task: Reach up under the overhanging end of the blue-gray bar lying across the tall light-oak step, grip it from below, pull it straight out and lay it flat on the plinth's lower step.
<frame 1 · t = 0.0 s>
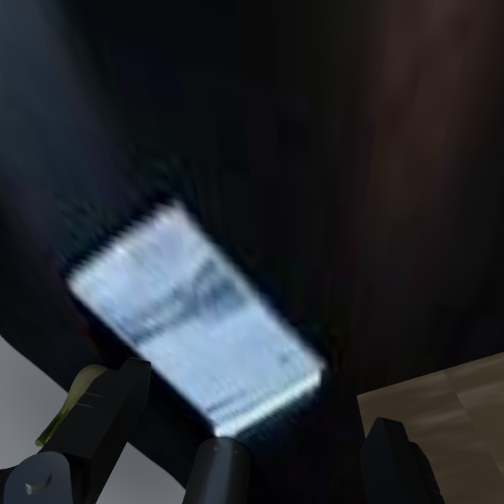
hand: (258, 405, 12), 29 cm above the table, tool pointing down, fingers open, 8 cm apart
plinth: (497, 396, 45), on the table
fennel bulb: (101, 370, 53), on the table
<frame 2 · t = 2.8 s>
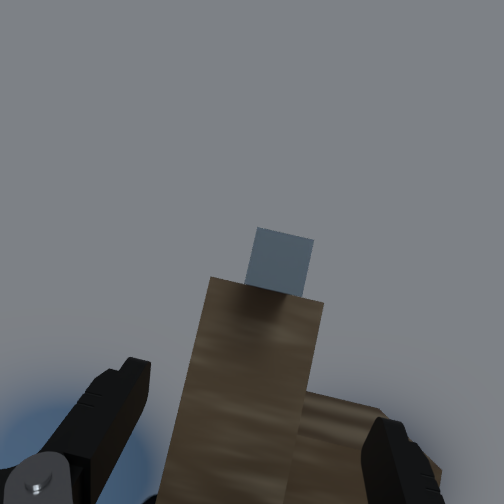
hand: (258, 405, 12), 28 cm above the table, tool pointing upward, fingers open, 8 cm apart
blue-gray bar: (266, 289, 31), point 32 cm above the table, touching plinth
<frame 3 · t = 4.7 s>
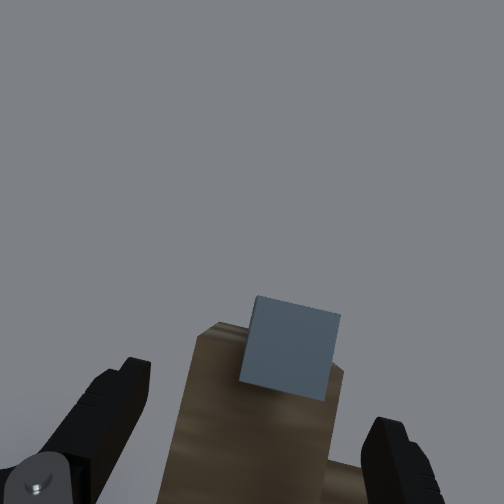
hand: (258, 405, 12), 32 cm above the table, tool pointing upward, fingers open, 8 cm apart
blue-gray bar: (269, 348, 25), point 32 cm above the table, touching plinth
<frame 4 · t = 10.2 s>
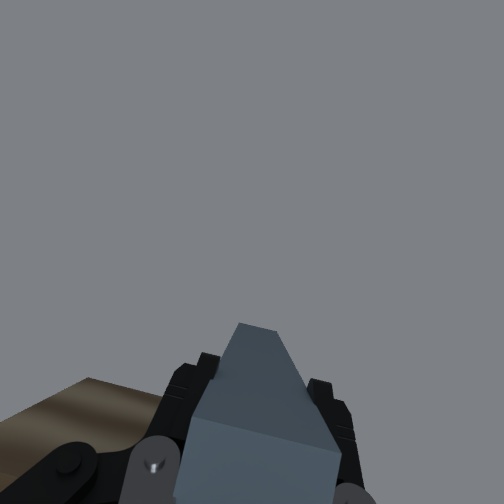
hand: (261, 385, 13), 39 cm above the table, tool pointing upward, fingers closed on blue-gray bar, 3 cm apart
blue-gray bar: (245, 411, 19), point 36 cm above the table, touching gripper
when the fingers open (26 cm above the table, at t = 13.5 s): blue-gray bar drops 2 cm, resting on plinth.
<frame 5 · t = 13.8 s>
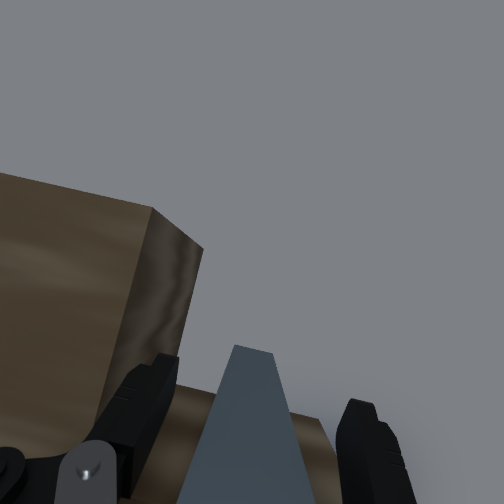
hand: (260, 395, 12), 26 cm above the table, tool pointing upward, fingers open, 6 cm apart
blue-gray bar: (238, 449, 18), point 21 cm above the table, touching plinth
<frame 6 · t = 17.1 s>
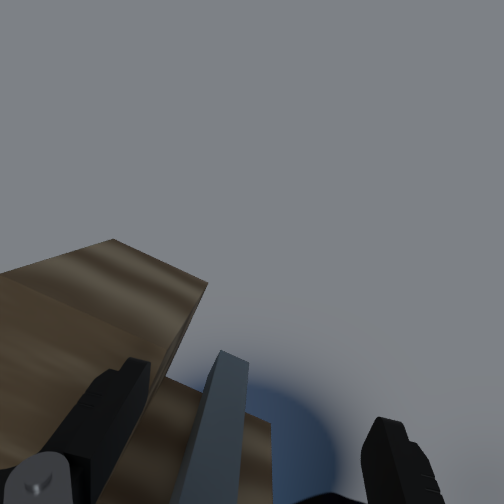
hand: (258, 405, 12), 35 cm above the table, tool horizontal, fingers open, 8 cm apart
blue-gray bar: (204, 463, 27), point 21 cm above the table, touching plinth
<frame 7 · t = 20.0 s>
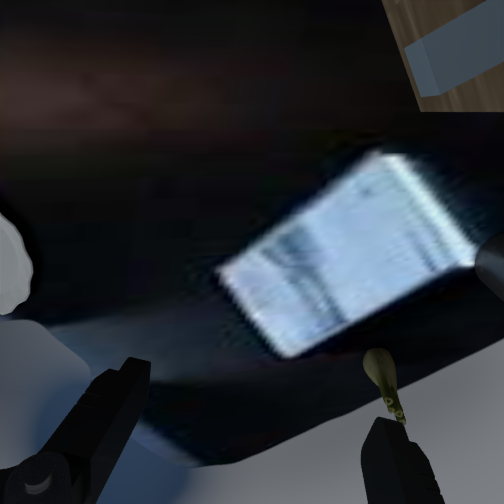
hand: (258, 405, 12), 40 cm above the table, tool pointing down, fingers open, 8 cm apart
fennel bulb: (375, 355, 58), on the table
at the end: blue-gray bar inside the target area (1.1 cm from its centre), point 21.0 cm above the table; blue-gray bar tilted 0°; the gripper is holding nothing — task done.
